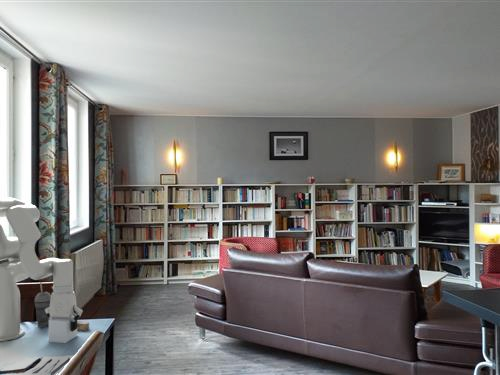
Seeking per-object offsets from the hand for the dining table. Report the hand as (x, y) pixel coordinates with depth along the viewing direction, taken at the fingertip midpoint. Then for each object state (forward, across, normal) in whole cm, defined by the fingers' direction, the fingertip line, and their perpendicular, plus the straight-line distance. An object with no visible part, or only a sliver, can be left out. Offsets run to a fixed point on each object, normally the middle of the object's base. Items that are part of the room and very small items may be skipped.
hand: (63, 329), depth 161 cm
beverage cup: (+4, -20, +12) cm, 24 cm away
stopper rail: (+4, -1, +10) cm, 11 cm away
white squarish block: (+4, 0, 0) cm, 4 cm away
